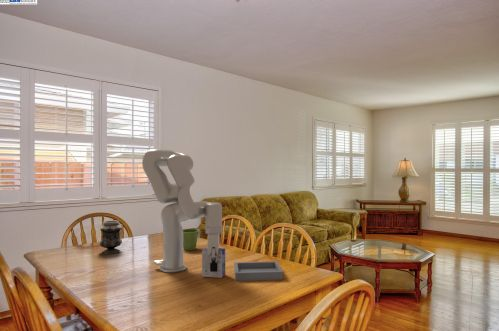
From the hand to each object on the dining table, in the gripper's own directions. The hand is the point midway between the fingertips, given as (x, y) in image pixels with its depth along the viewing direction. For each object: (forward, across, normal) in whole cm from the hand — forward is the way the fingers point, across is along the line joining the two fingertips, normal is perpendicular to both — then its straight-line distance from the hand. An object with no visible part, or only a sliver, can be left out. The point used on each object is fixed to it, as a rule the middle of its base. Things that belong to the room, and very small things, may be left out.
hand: (214, 268), depth 152 cm
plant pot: (+3, -50, -16) cm, 53 cm away
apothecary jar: (+3, -47, -61) cm, 77 cm away
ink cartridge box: (+3, 0, 0) cm, 3 cm away
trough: (+3, 0, +20) cm, 20 cm away
